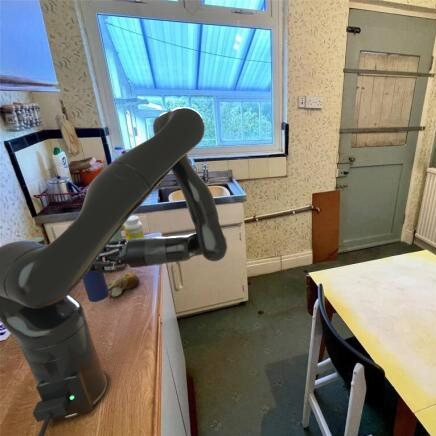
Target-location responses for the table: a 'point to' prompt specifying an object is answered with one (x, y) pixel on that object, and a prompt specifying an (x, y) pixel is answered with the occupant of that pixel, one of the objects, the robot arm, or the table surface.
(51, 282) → the robot arm
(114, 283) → the fruit
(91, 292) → the t-handle plunger
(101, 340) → the table surface
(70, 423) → the table surface
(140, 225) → the pill bottle
